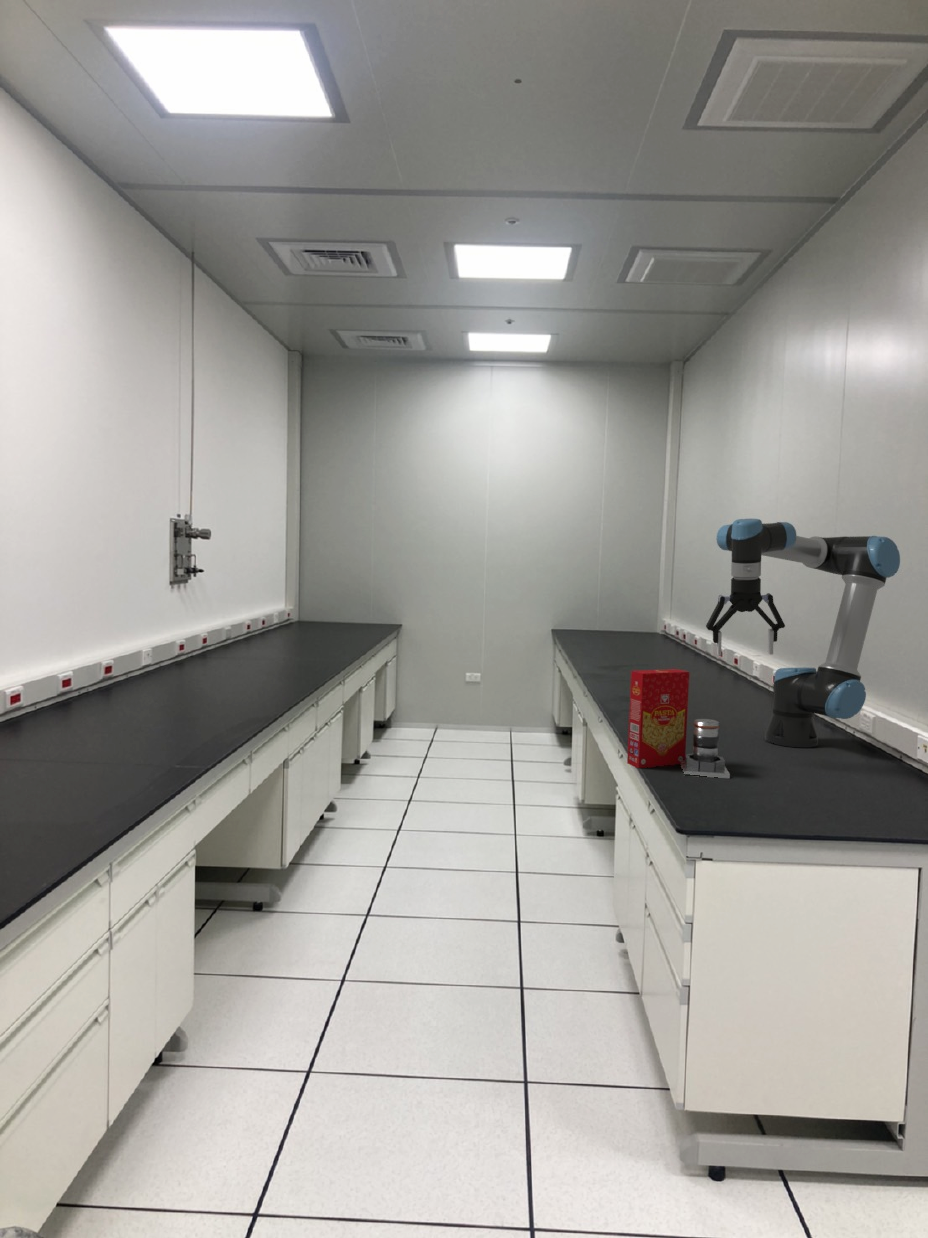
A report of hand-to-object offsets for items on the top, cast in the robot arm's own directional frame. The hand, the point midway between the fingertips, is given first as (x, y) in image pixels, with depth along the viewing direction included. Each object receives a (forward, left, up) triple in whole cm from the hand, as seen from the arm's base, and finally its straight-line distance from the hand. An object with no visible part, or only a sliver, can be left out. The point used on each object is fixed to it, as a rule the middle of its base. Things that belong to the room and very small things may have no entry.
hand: (744, 654), depth 222 cm
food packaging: (+23, +10, -30) cm, 39 cm away
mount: (+11, +15, -30) cm, 35 cm away
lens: (+11, +15, -28) cm, 34 cm away
